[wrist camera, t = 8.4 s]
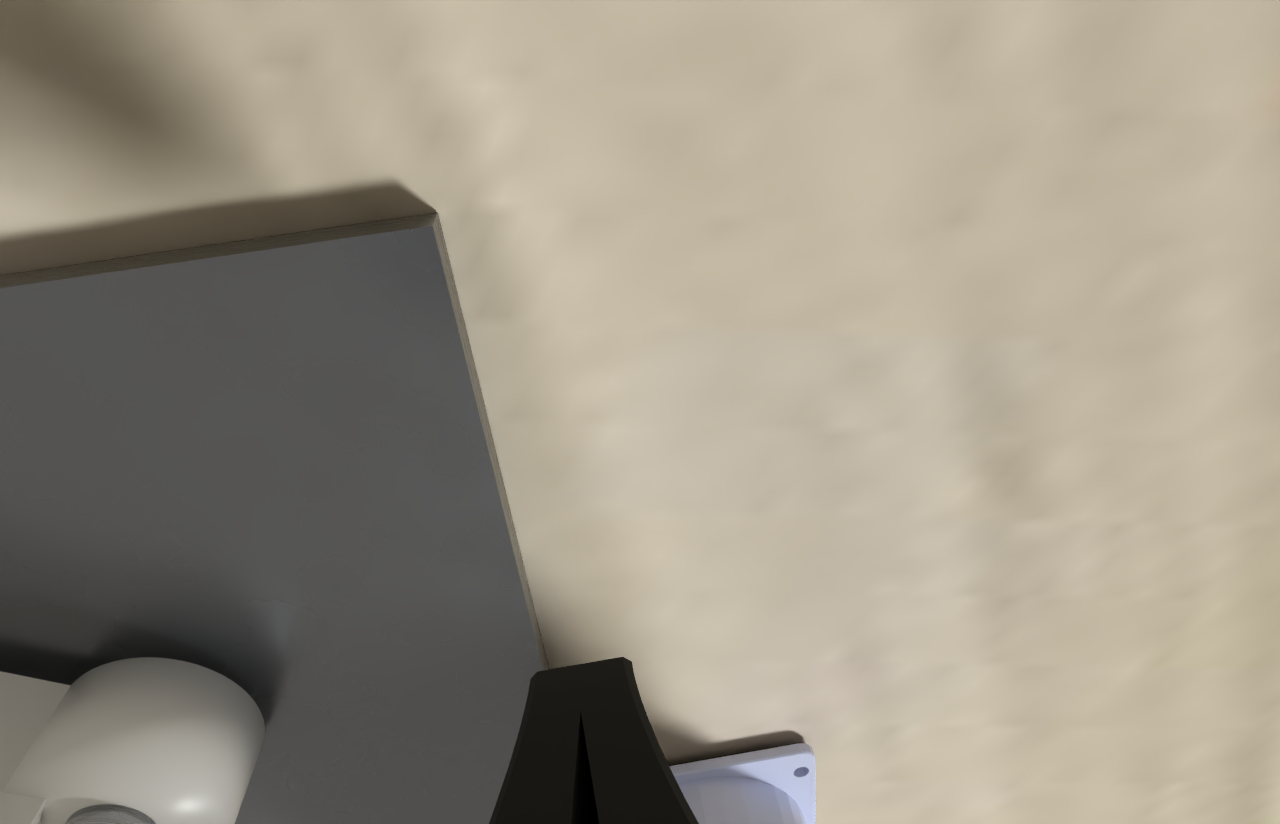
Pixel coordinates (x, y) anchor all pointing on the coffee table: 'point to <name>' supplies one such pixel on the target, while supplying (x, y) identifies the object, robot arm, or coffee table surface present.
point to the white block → (127, 746)
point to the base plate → (274, 508)
